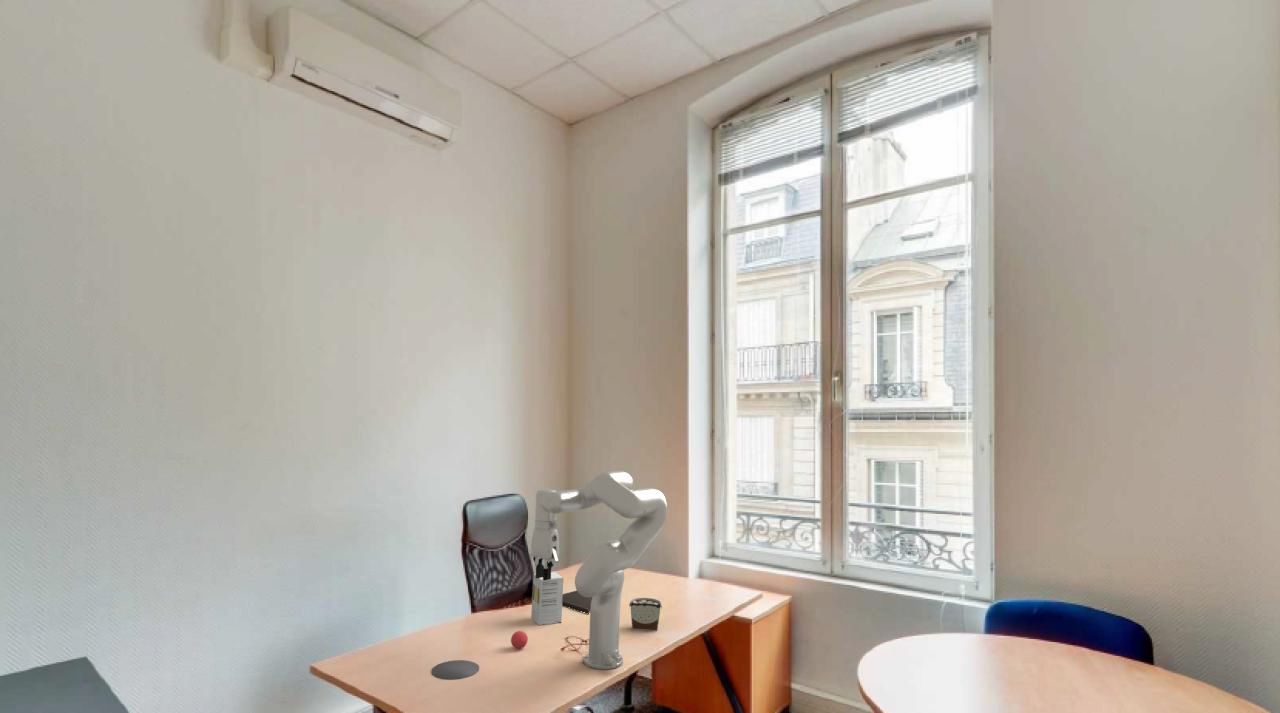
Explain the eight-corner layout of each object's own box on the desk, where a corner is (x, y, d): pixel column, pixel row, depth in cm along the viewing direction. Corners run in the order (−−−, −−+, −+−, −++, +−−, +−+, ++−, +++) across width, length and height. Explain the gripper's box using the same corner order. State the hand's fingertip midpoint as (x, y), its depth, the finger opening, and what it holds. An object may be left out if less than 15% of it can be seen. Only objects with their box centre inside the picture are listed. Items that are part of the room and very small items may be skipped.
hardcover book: (577, 595, 280) (577, 590, 280) (616, 607, 265) (616, 601, 265) (549, 603, 267) (549, 597, 268) (588, 616, 252) (588, 610, 253)
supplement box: (530, 618, 246) (532, 573, 247) (553, 615, 250) (555, 571, 251) (538, 626, 237) (540, 579, 239) (562, 623, 241) (564, 577, 243)
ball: (529, 649, 214) (530, 632, 214) (514, 652, 211) (514, 635, 211) (523, 644, 218) (524, 627, 219) (508, 646, 216) (509, 630, 216)
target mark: (485, 673, 193) (485, 673, 193) (438, 682, 186) (438, 682, 186) (471, 657, 205) (471, 657, 205) (426, 665, 198) (426, 665, 198)
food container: (662, 625, 242) (663, 598, 243) (661, 631, 236) (662, 603, 237) (629, 623, 243) (630, 596, 244) (628, 629, 237) (629, 601, 238)
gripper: (569, 527, 223) (567, 581, 221) (537, 520, 233) (535, 572, 232) (553, 529, 217) (551, 585, 216) (521, 523, 228) (519, 576, 226)
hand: (543, 578), depth 224 cm, fingers open, 3 cm apart
